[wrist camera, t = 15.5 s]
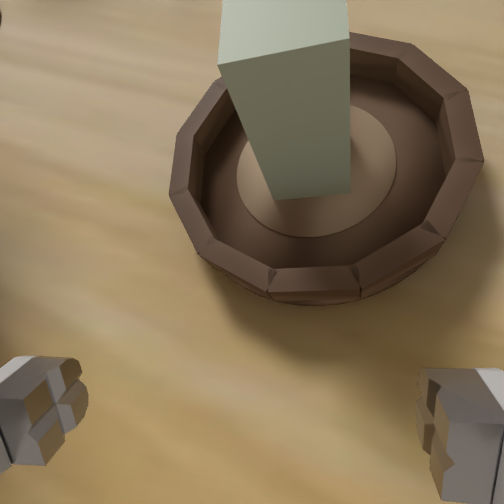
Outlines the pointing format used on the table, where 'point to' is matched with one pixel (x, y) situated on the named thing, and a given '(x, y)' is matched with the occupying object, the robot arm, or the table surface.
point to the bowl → (341, 205)
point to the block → (291, 90)
